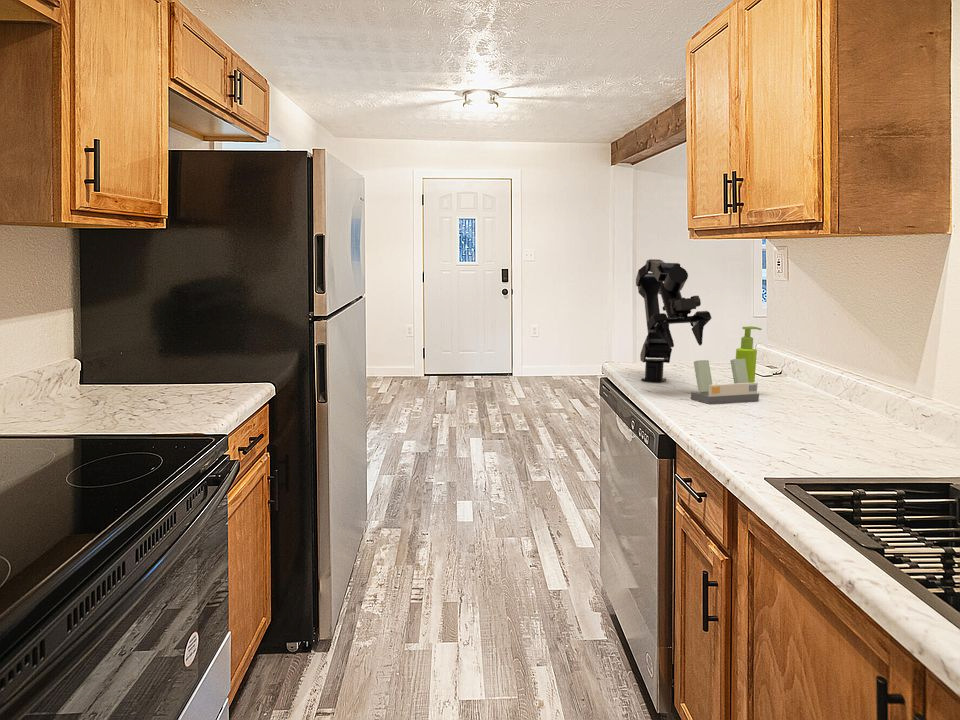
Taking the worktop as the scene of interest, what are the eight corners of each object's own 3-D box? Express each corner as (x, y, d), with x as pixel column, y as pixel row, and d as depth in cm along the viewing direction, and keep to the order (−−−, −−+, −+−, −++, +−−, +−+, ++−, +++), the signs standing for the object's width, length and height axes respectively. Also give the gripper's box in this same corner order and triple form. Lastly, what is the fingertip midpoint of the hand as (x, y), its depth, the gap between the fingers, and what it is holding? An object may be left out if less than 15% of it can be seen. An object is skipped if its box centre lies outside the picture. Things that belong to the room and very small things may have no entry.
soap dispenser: (759, 394, 244) (764, 327, 241) (736, 393, 244) (741, 327, 241) (753, 391, 249) (758, 326, 247) (731, 390, 250) (735, 325, 247)
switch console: (690, 398, 233) (691, 381, 233) (739, 395, 240) (740, 378, 239) (708, 404, 226) (709, 385, 225) (758, 400, 233) (759, 382, 232)
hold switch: (735, 390, 235) (730, 360, 237) (746, 390, 237) (741, 359, 238) (739, 389, 234) (733, 359, 235) (750, 389, 235) (744, 358, 237)
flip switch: (698, 392, 230) (693, 361, 232) (710, 392, 232) (705, 361, 233) (702, 391, 229) (697, 360, 230) (713, 391, 230) (708, 360, 232)
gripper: (655, 287, 236) (669, 334, 229) (712, 284, 241) (728, 331, 234) (640, 306, 245) (654, 352, 239) (695, 303, 250) (710, 348, 244)
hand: (686, 345), depth 239 cm, fingers open, 9 cm apart
